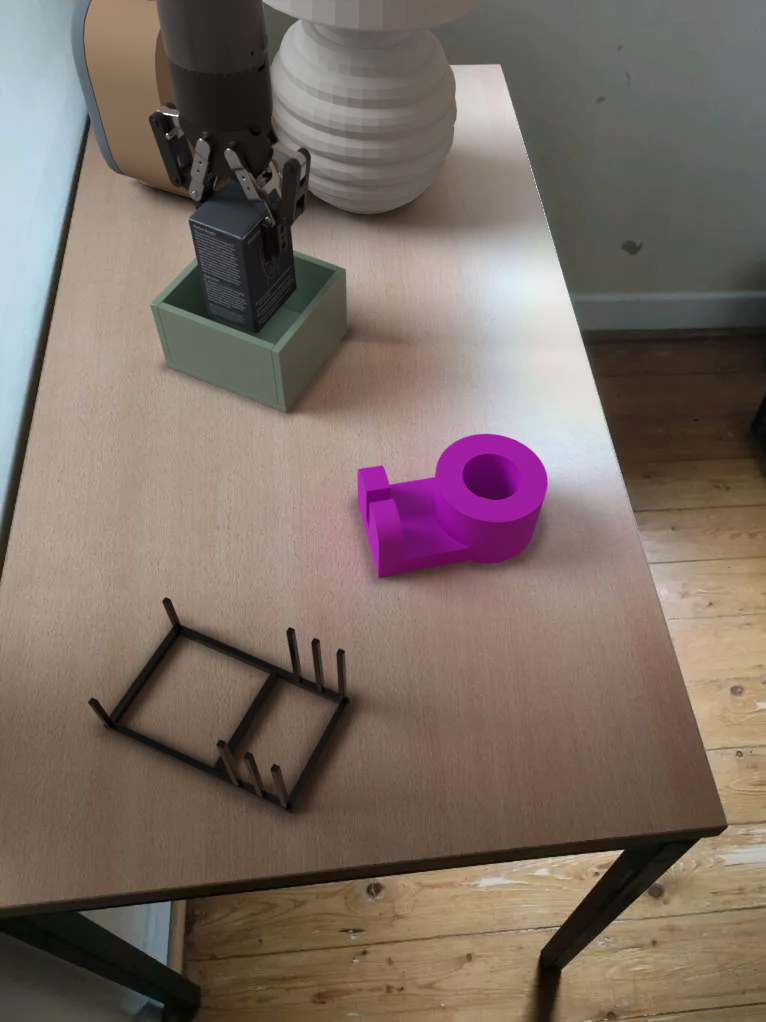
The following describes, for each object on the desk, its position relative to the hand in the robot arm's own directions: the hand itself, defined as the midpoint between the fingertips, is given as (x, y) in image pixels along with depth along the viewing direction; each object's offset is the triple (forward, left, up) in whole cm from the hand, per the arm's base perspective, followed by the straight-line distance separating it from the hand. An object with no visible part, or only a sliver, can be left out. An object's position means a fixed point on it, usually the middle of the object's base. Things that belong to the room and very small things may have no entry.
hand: (244, 244), depth 74 cm
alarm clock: (-23, +24, -13) cm, 36 cm away
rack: (+19, -37, -12) cm, 43 cm away
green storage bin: (0, 0, -12) cm, 12 cm away
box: (0, 0, -7) cm, 7 cm away
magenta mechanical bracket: (+27, -12, -13) cm, 32 cm away
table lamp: (-3, +31, -13) cm, 34 cm away
